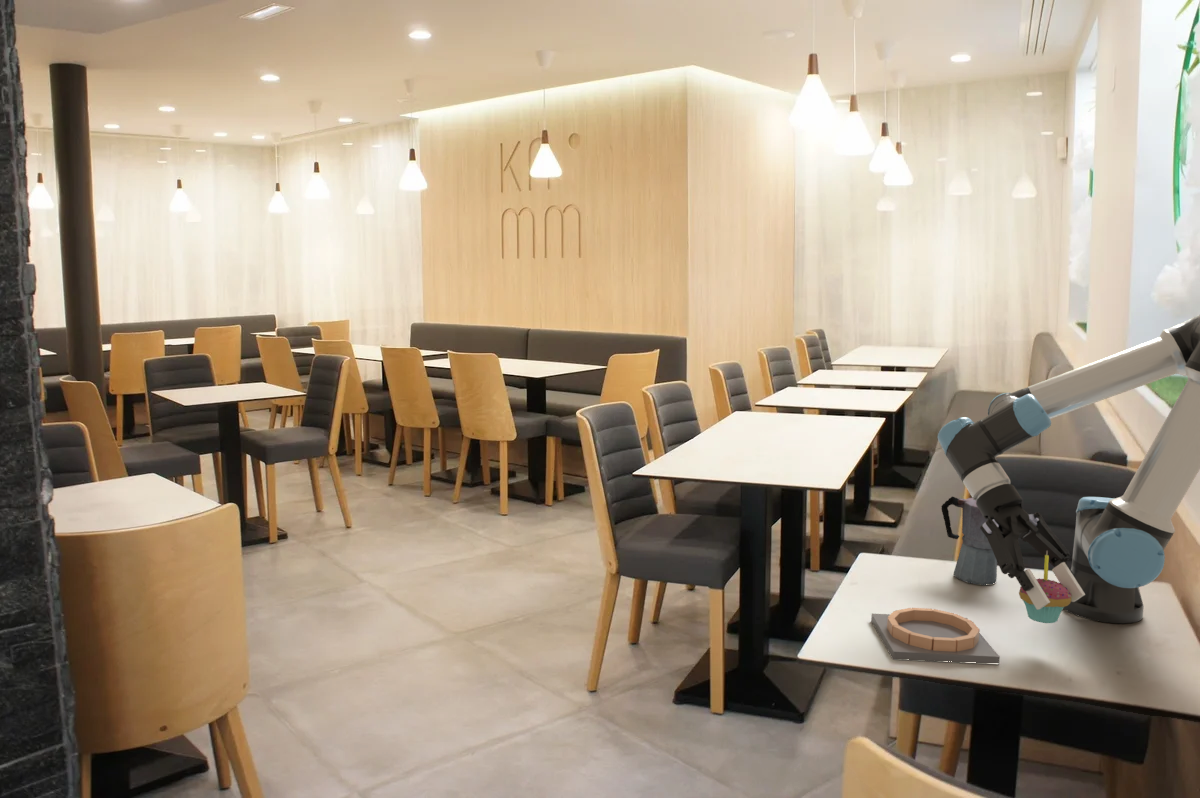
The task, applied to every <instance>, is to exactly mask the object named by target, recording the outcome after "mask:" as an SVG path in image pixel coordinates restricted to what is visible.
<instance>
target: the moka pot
mask: <svg viewBox="0 0 1200 798" xmlns="http://www.w3.org/2000/svg"><path fill="white" fill-rule="evenodd" d="M952 505H953V506H955V507H957V508H961V509H962V519H961V520H962V521H961V522H962V524H961V525H962V526H961V527H962V528H961V533H962V534H963V535H962V537H961V539H962V544H961V546H960V547H961V548H960V550H959V554H958V557H957V561H956V564H955V568H954V571H953V577H955V578H956V579H958V580H960V581H963V582H965V583H968V584H972V583H973V584H972V585H979V584H981V586H987V585H986V584H993V583H995V582H996V583H997V579H998V578H997V577H998V574H997V572H998V571H997V570H998V562H997V560H996V558H995V555H994V553H993V551H992V548H991V546H990V544H989V541H988V539H987V537H986V536H985V534H984V533H983V532H982V530H981V529H980V526H981V525H983V524H984V523H985V522H986V521H987V519H985V518H984V517H983V515H982V513H981V512H980V510H979V508H978V507H977V505H976V500H973V498H972V497H968V498H961V497H959V498H958V497H955V496H951V497H950V498H949V497H948V500H946V501H945V502H944V503H942V505H941V506H940V507H941V512H942V515H943V520H944V525H945V530H946V534H947V538H950V539H953V540H958V539H959V538H960V535H959V534H956V533H955V534H954V533H953V530H952V527H951V525H952V524H951V518H950V515H949V514H950V513H949V512H950V511H949V509H948V508H949V506H952ZM996 583H995V584H996ZM993 585H994V584H993Z"/></svg>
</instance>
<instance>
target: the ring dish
mask: <svg viewBox="0 0 1200 798" xmlns="http://www.w3.org/2000/svg"><path fill="white" fill-rule="evenodd" d="M870 620H871V623H872V624H873V627H874V628H875V630H876V632H877V634H878V636H879V637H880V639H881V641H882V642H883V644H884V646H885V648H886V650H887V649H888V650H887V652H888V651H889V652H888V653H889V655H890V654H891V655H890V657H891V656H892V657H891V659H892V658H893V659H909V660H925V661H924V662H929V661H948V662H947V663H949V661H950V662H951V661H952V662H976V663H999V664H1000V658H1001V657H1000V655H999V654H998V653H997V651H996V650H995V649H994V648H993V647H992V646H991V644H990V643H989V642H988V640H986V639H985V638H984V636H983V635H982V634H981V632H980V628H979V627H978V626H977V625H976V624H975V622H974V621H972V620H971V619H969V618H968V617H964V616H962V615H960V614H958V613H957V614H956V613H954V612H949V611H946V610H945V611H944V610H941V609H936V608H925V607H908V608H903V609H896V610H894V611H892V613H891V612H890V614H889V613H887V614H886V613H871V618H870ZM893 659H892V660H893ZM909 660H908V661H909Z"/></svg>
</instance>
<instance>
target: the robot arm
mask: <svg viewBox="0 0 1200 798" xmlns="http://www.w3.org/2000/svg"><path fill="white" fill-rule="evenodd" d="M1177 374H1178V375H1180V376H1184V377H1187V381H1186V383H1185V385H1184V386H1183V389H1182V390H1181V392H1180V393H1179V395H1178V397H1177V399H1176V401H1175V402H1174V405H1173V406H1172V408H1171V410H1169V411H1170V412H1169V413H1168V415H1167V417H1166V418H1165V420H1164V422H1163V424H1162V426H1161V428H1160V429H1159V430H1158V432H1157V435H1156V436H1155V438H1154V440H1153V442H1152V443H1151V445H1150V447H1149V449H1148V450H1147V452H1146V453H1145V455H1144V458H1143V459H1142V461H1141V463H1140V465H1139V467H1138V468H1137V470H1136V471H1135V474H1134V475H1133V477H1132V478H1131V480H1130V482H1129V484H1128V486H1127V487H1126V489H1125V492H1124V493H1123V495H1121V496H1119V497H1116V498H1115V497H1113V498H1111V497H1101V496H1083V497H1081V498H1080V499H1079V500H1078V504H1077V508H1076V510H1075V513H1076V518H1075V519H1076V520H1075V529H1074V539H1073V549H1072V554H1071V552H1070V551H1069V549H1068V548H1067V547H1066V546H1065V545H1064V544H1063V542H1062V541H1061V540H1060V539H1059V537H1058V536H1057V535H1056V534H1055V532H1054V531H1053V530H1052V528H1050V526H1049V525H1048V524H1047V522H1046V521H1045V519H1044V517H1043V515H1042V513H1041V512H1040V511H1036V512H1035V513H1031V514H1029V513H1028V512H1027V511H1026V510H1025V509H1023V507H1022V503H1023V497H1022V496H1021V495H1020V493H1019V492H1018V490H1017V488H1016V487H1015V485H1013V484H1011V479H1010V476H1008V474H1007V473H1006V471H1005V470H1004V468H1003V466H1002V465H1001V464H1000V463H999V460H997V457H999V456H1001V455H1003V454H1005V452H1008V451H1009V450H1011V449H1013V448H1015V447H1017V446H1019V445H1021V444H1023V443H1024V442H1027V441H1028V440H1030V439H1032V438H1034V437H1037V436H1039V435H1040V434H1041V433H1042V432H1044V431H1046V430H1047V429H1049V428H1050V427H1051V426H1052V420H1051V419H1054V418H1056V417H1059V416H1062V415H1064V414H1067V413H1070V412H1073V411H1076V410H1078V409H1082V408H1084V407H1087V406H1089V405H1092V404H1095V403H1098V402H1102V401H1103V400H1107V399H1109V398H1112V397H1114V396H1118V395H1120V394H1123V393H1126V392H1128V391H1133V390H1135V389H1138V388H1140V387H1142V386H1146V385H1148V384H1152V383H1154V382H1157V381H1159V380H1161V379H1165V378H1168V377H1170V376H1171V377H1172V376H1173V375H1174V376H1175V375H1177ZM937 441H938V443H939V444H940V447H941V448H942V450H943V452H944V455H945V457H946V458H947V459H948V461H949V463H950V464H951V466H952V467H953V469H954V470H955V472H956V474H957V476H958V477H959V479H960V481H961V482H962V483H963V485H964V486H965V488H966V489H967V491H968V493H969V494H970V496H971V498H973V500H976V505H977V507H978V508H979V510H980V512H981V513H982V515H983V517H984V518H985V519H987V521H986V522H985V523H984V524H983V525H981V526H980V529H981V530H982V532H983V533H984V534H985V536H986V537H987V539H988V541H989V544H990V546H991V548H992V551H993V553H994V555H995V558H996V560H997V565H998V566H999V569H1000V571H1001V573H1002V574H1004V575H1007V577H1009V578H1010V579H1013V578H1016V581H1017V582H1018V584H1019V585H1020V587H1022V589H1023V590H1024V591H1026V592H1027V594H1028V596H1029V597H1030V599H1031V601H1032V602H1033V604H1034V606H1035V607H1036V609H1037V610H1039V609H1041V608H1043V607H1044V606H1045V605H1047V604H1048V603H1050V601H1049V599H1048V598H1047V596H1046V594H1045V593H1044V591H1043V590H1042V588H1041V586H1040V585H1039V583H1038V581H1037V580H1036V579H1037V578H1036V576H1035V575H1034V573H1033V572H1032V570H1031V568H1027V569H1026V566H1025V564H1024V559H1023V554H1022V550H1021V546H1020V542H1019V539H1021V540H1022V542H1026V543H1028V544H1029V545H1030V546H1031V547H1032V548H1033V549H1035V550H1036V552H1038V553H1039V554H1040V555H1041V557H1043V559H1045V555H1046V551H1048V554H1047V555H1048V556H1049V563H1048V564H1050V565H1051V566H1052V567H1053V568H1052V569H1051V571H1052V573H1053V575H1054V576H1055V577H1056V579H1057V580H1058V583H1060V584H1062V585H1063V586H1065V587H1067V589H1068V591H1069V592H1070V593H1072V595H1071V603H1070V604H1069V605H1068V606H1065V607H1064V608H1063V609H1062V610H1064V611H1066V612H1068V613H1070V614H1073V615H1075V616H1078V617H1080V618H1081V617H1082V618H1084V619H1087V620H1092V621H1097V622H1101V623H1110V624H1111V623H1112V624H1133V623H1137V622H1140V621H1141V620H1142V619H1143V617H1144V602H1143V599H1142V595H1141V590H1140V587H1144V586H1147V585H1148V584H1149V585H1150V584H1151V583H1152V582H1153V581H1155V580H1156V579H1157V578H1158V577H1159V576H1160V575H1161V573H1162V571H1163V569H1164V566H1165V559H1166V556H1165V549H1166V547H1167V546H1168V544H1169V542H1170V541H1171V540H1172V537H1173V536H1174V534H1175V532H1176V529H1175V527H1174V524H1173V521H1172V519H1173V517H1174V514H1175V513H1176V511H1177V509H1178V507H1180V504H1181V503H1182V501H1183V499H1184V497H1185V495H1186V494H1187V492H1188V491H1189V489H1190V487H1191V485H1192V484H1193V483H1194V480H1195V479H1196V477H1197V475H1198V474H1199V472H1200V314H1198V315H1196V316H1193V317H1192V318H1190V319H1187V320H1185V321H1182V322H1179V323H1178V324H1175V325H1174V326H1171V327H1168V328H1164V329H1163V330H1162V331H1161V333H1160V335H1159V336H1158V337H1156V338H1154V339H1151V340H1149V341H1146V342H1144V343H1140V344H1138V345H1136V346H1133V347H1131V348H1127V349H1124V350H1123V351H1120V352H1116V353H1114V354H1112V355H1109V356H1106V357H1104V358H1101V359H1098V360H1095V361H1093V362H1090V363H1088V364H1084V365H1082V366H1080V367H1077V368H1074V369H1072V370H1069V371H1066V372H1064V373H1061V374H1058V375H1055V376H1053V377H1050V378H1048V379H1046V380H1042V381H1040V382H1036V383H1035V384H1031V385H1029V386H1027V387H1024V388H1021V389H1019V390H1017V391H1014V392H1004V393H1000V394H998V395H996V396H995V397H994V398H993V399H992V400H991V401H990V404H989V406H988V409H987V415H986V417H984V418H982V419H980V420H978V421H975V422H974V421H973V420H972V419H971V418H969V417H968V416H967V417H966V416H964V417H962V416H961V417H958V418H957V419H953V420H951V421H948V423H946V424H945V425H943V426H942V427H941V428H940V430H939V431H938V433H937ZM1070 559H1072V561H1071V568H1070V567H1069V565H1068V563H1067V561H1069V560H1070Z"/></svg>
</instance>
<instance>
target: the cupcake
mask: <svg viewBox="0 0 1200 798" xmlns="http://www.w3.org/2000/svg"><path fill="white" fill-rule="evenodd" d="M1047 554H1048V551H1046V555H1045V558H1044V563H1043V565H1044V566H1043V568H1044V569H1043V578H1036V580H1037V581H1038V583H1039V585H1040V586H1041V588H1042V590H1043V591H1044V593H1045V594H1046V596H1047V598H1048V599H1049V601H1050V603H1048V604H1047V605H1045V606H1044V607H1043V608H1041V609H1039V610H1037V609H1036V607H1035V606H1034V604H1033V602H1032V601H1031V599H1030V597H1029V596H1028V594H1027V592H1026V591H1024V590H1023V589H1022V587H1021V586H1020V587H1019V591H1018V594H1019V598H1020V600H1022V602H1023V603H1024V605H1025V609H1026V612H1027V617H1028V618H1029V619H1031V620H1032V621H1034V622H1038V623H1042V624H1055V623H1057V622H1058V620H1059V617H1060V616H1061V613H1062V611H1063V610H1064V609H1063V608H1064V607H1065V606H1068V605H1069V604H1070V603H1071V595H1072V593H1070V592H1069V591H1068V589H1067V587H1065V586H1063V585H1062V584H1060V582H1057V581H1056V580H1052V579H1051V580H1050V579H1049V564H1050V563H1049V556H1048V555H1047Z"/></svg>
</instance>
